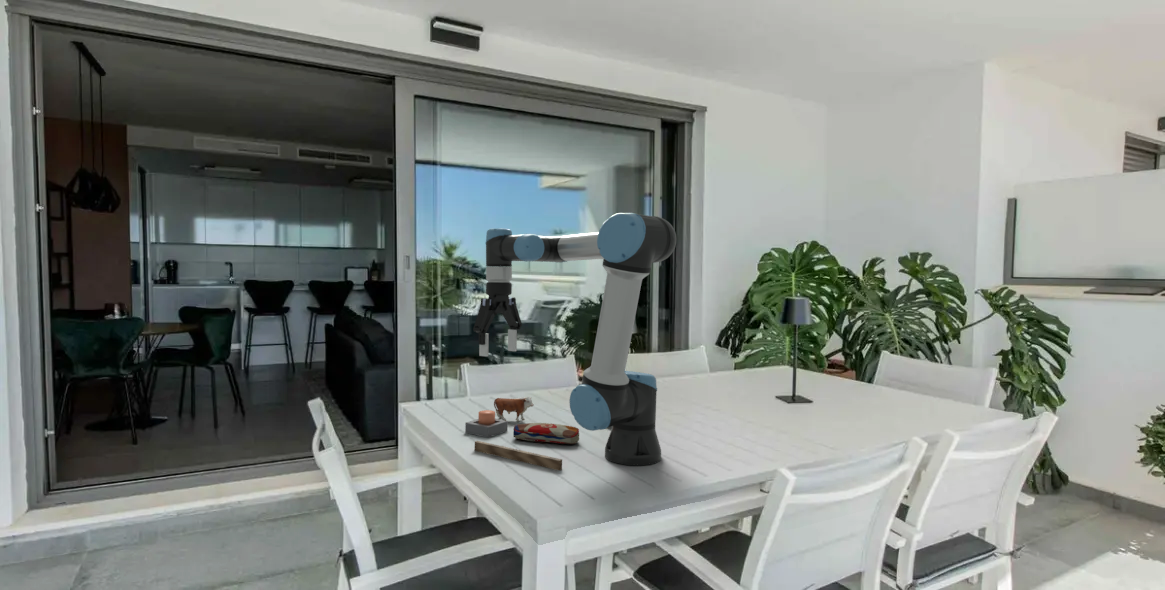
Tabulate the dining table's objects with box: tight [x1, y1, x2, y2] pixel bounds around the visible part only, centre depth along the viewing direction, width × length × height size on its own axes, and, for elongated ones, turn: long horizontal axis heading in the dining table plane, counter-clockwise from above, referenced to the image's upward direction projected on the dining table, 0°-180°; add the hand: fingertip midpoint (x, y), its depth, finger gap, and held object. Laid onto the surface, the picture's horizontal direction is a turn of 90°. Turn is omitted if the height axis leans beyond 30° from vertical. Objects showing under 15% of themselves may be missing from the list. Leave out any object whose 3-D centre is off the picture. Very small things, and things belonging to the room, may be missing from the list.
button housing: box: [464, 418, 509, 438], centre depth 188 cm, size 9×9×3 cm
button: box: [477, 409, 496, 425], centre depth 188 cm, size 5×5×4 cm
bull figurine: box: [493, 396, 535, 422], centre depth 203 cm, size 4×13×8 cm, turn 81°
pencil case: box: [513, 422, 580, 445], centre depth 180 cm, size 11×20×5 cm, turn 61°
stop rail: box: [474, 440, 563, 471], centre depth 162 cm, size 28×1×2 cm, turn 58°
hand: (498, 353), depth 182 cm, fingers open, 13 cm apart
